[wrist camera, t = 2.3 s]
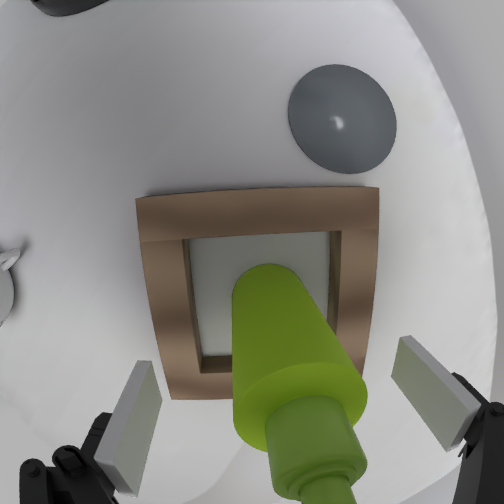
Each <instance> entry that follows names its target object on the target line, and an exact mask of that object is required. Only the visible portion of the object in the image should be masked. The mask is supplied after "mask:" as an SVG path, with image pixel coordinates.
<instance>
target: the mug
mask: <svg viewBox="0 0 504 504" xmlns="http://www.w3.org/2000/svg"><path fill="white" fill-rule="evenodd" d="M19 256H20V251H19V250H18V249H11V250H8V251H5V252H3V253H1V254H0V327H1V325H2V324H3V323H4V321H5V320H6V318H7V316H8V315H9V313H10V310H11V308H12V305H13V299H14V287H13V282H12V278H11V275H10V273H9V271H8V269H9V268H10V267H11V266H12V265H13V264H14V263H15V262H16V261H17V259H18V258H19ZM6 260H7V261H6ZM4 261H6V262H5V263H3V262H4Z"/></svg>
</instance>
